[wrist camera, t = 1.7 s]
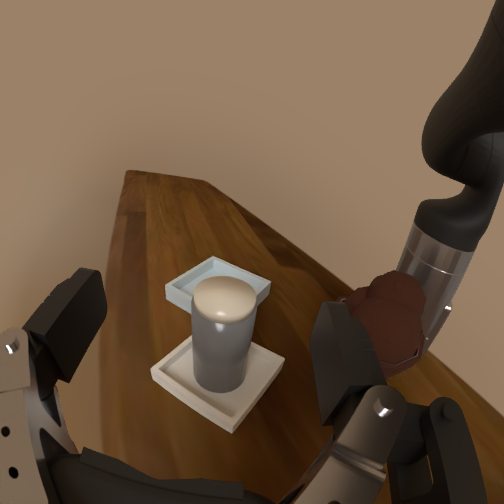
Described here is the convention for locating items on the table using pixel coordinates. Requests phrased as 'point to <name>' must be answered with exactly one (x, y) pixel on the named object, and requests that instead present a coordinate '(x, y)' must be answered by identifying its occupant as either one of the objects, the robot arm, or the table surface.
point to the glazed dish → (185, 284)
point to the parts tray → (218, 404)
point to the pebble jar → (222, 332)
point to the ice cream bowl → (391, 318)
